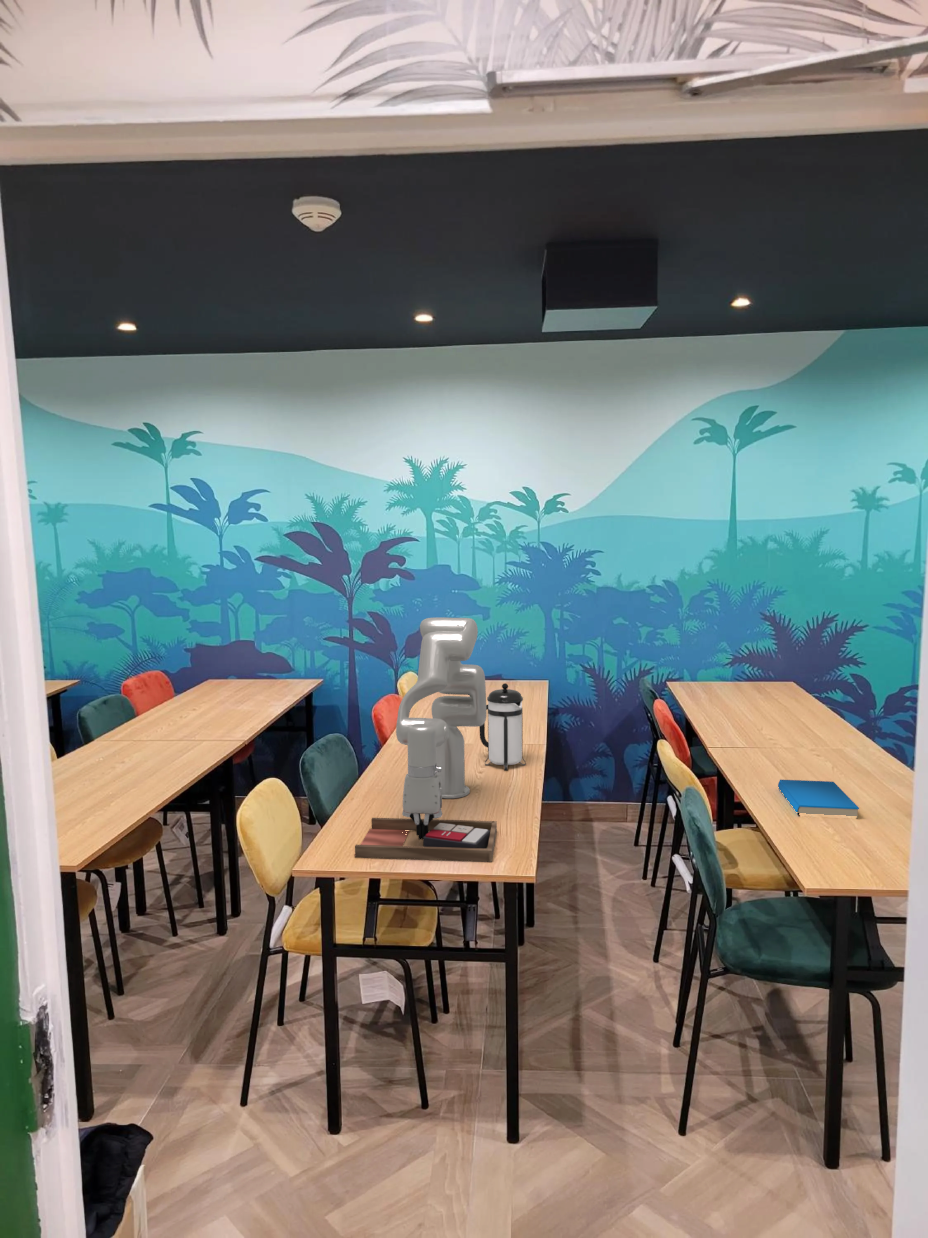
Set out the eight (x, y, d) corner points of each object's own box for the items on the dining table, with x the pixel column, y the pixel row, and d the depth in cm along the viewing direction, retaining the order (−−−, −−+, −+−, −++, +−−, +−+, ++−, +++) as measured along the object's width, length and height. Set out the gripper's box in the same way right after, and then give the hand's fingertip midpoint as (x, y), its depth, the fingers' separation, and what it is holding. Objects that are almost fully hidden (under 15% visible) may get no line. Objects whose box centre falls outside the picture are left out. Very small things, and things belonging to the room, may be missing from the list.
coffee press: (526, 759, 294) (526, 679, 291) (525, 771, 278) (525, 687, 275) (479, 758, 295) (479, 678, 292) (476, 770, 280) (475, 687, 276)
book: (833, 781, 253) (860, 806, 228) (832, 794, 253) (859, 821, 229) (777, 779, 255) (797, 804, 231) (776, 792, 256) (797, 818, 231)
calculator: (439, 821, 217) (490, 827, 212) (439, 836, 218) (490, 843, 212) (422, 834, 207) (476, 841, 202) (422, 850, 208) (476, 858, 202)
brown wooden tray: (370, 827, 225) (370, 817, 225) (496, 831, 222) (496, 821, 221) (352, 857, 204) (352, 846, 204) (491, 862, 201) (491, 850, 200)
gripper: (451, 767, 213) (452, 834, 215) (397, 766, 215) (398, 832, 217) (447, 775, 206) (447, 844, 207) (391, 773, 208) (392, 841, 209)
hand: (422, 838), depth 212 cm, fingers closed
